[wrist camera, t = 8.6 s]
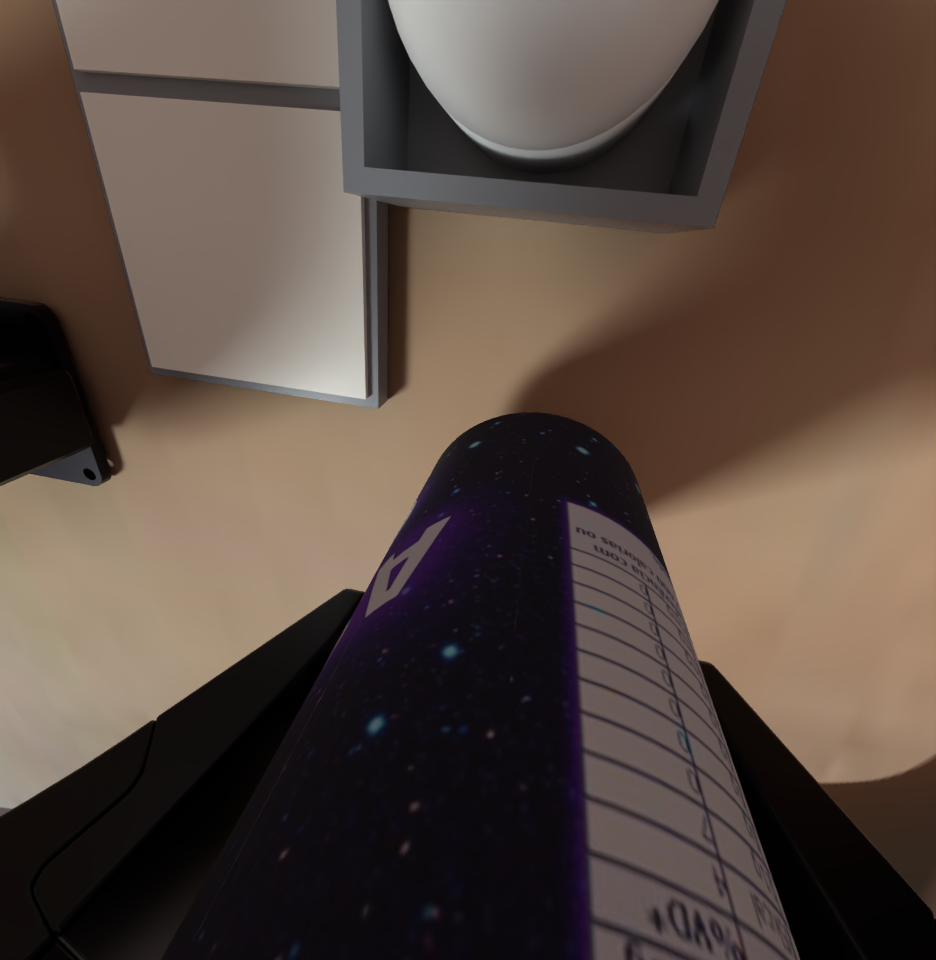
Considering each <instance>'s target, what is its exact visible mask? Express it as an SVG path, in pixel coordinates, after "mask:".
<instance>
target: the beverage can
mask: <svg viewBox="0 0 936 960" xmlns="http://www.w3.org/2000/svg"><path fill="white" fill-rule="evenodd" d="M161 960H800V957H799V954H798V951H797V948H796V946H795V943H794V940H793V937H792V934H791V931H790V928H789V925H788V922H787V919H786V916H785V913H784V910H783V907H782V905H781V902H780V899H779V896H778V893H777V890H776V887H775V884H774V881H773V878H772V875H771V872H770V869H769V866H768V864H767V861H766V858H765V855H764V852H763V849H762V846H761V843H760V840H759V837H758V834H757V831H756V828H755V825H754V823H753V820H752V817H751V814H750V811H749V808H748V805H747V802H746V799H745V796H744V793H743V790H742V787H741V784H740V781H739V779H738V776H737V773H736V770H735V767H734V764H733V761H732V758H731V755H730V752H729V749H728V746H727V743H726V740H725V738H724V735H723V732H722V729H721V726H720V723H719V720H718V717H717V714H716V711H715V708H714V705H713V702H712V699H711V697H710V694H709V691H708V688H707V685H706V682H705V679H704V676H703V673H702V670H701V667H700V664H699V661H698V658H697V656H696V653H695V650H694V647H693V644H692V641H691V638H690V635H689V632H688V629H687V626H686V623H685V620H684V617H683V614H682V612H681V609H680V606H679V603H678V600H677V597H676V594H675V591H674V588H673V585H672V582H671V579H670V576H669V573H668V571H667V568H666V565H665V562H664V559H663V556H662V553H661V550H660V547H659V544H658V541H657V538H656V535H655V532H654V530H653V527H652V524H651V521H650V518H649V515H648V512H647V509H646V506H645V503H644V500H643V497H642V494H641V491H640V489H639V486H638V483H637V480H636V477H635V475H634V473H633V471H632V469H631V467H630V465H629V463H628V462H627V460H626V459H625V457H624V456H623V455H622V454H621V452H620V451H619V450H618V449H617V448H616V447H615V446H614V445H613V444H612V443H611V442H610V441H609V440H607V439H606V438H605V437H604V436H602V435H601V434H599V433H598V432H596V431H595V430H593V429H591V428H590V427H588V426H586V425H584V424H582V423H579V422H577V421H574V420H571V419H569V418H565V417H561V416H558V415H552V414H546V413H530V412H529V413H515V414H508V415H503V416H499V417H496V418H492V419H490V420H487V421H484V422H482V423H480V424H478V425H476V426H474V427H472V428H470V429H469V430H467V431H466V432H464V433H463V434H462V435H460V436H459V437H458V438H457V439H456V440H455V441H453V442H452V443H451V444H450V446H449V447H448V448H447V449H446V450H445V451H444V453H443V454H442V456H441V457H440V459H439V460H438V462H437V464H436V466H435V467H434V469H433V471H432V473H431V475H430V476H429V478H428V480H427V482H426V484H425V485H424V487H423V489H422V491H421V493H420V494H419V496H418V498H417V500H416V502H415V503H414V505H413V507H412V509H411V511H410V512H409V514H408V516H407V518H406V520H405V521H404V523H403V525H402V527H401V529H400V530H399V532H398V534H397V536H396V538H395V539H394V541H393V543H392V545H391V547H390V548H389V550H388V552H387V554H386V556H385V557H384V559H383V561H382V563H381V565H380V566H379V568H378V570H377V572H376V574H375V575H374V577H373V579H372V581H371V583H370V584H369V586H368V588H367V590H366V592H365V593H364V595H363V597H362V599H361V601H360V602H359V604H358V606H357V608H356V610H355V611H354V613H353V615H352V617H351V619H350V620H349V622H348V624H347V626H346V628H345V629H344V631H343V633H342V635H341V636H340V638H339V640H338V642H337V644H336V645H335V647H334V649H333V651H332V653H331V654H330V656H329V658H328V660H327V662H326V663H325V665H324V667H323V669H322V671H321V672H320V674H319V676H318V678H317V680H316V681H315V683H314V685H313V687H312V689H311V690H310V692H309V694H308V696H307V698H306V699H305V701H304V703H303V705H302V707H301V708H300V710H299V712H298V714H297V716H296V717H295V719H294V721H293V723H292V725H291V726H290V728H289V730H288V732H287V734H286V735H285V737H284V739H283V741H282V743H281V744H280V746H279V748H278V750H277V752H276V753H275V755H274V757H273V759H272V761H271V762H270V764H269V766H268V768H267V770H266V771H265V773H264V775H263V777H262V779H261V780H260V782H259V784H258V786H257V788H256V789H255V791H254V793H253V795H252V797H251V798H250V800H249V802H248V804H247V806H246V807H245V809H244V811H243V813H242V815H241V816H240V818H239V820H238V822H237V824H236V825H235V827H234V829H233V831H232V833H231V834H230V836H229V838H228V840H227V842H226V843H225V845H224V847H223V849H222V851H221V852H220V854H219V856H218V858H217V860H216V861H215V863H214V865H213V867H212V869H211V870H210V872H209V874H208V876H207V878H206V879H205V881H204V883H203V885H202V886H201V888H200V890H199V892H198V894H197V895H196V897H195V899H194V901H193V903H192V904H191V906H190V908H189V910H188V912H187V913H186V915H185V917H184V919H183V921H182V922H181V924H180V926H179V928H178V930H177V931H176V933H175V935H174V937H173V939H172V940H171V942H170V944H169V946H168V948H167V949H166V951H165V953H164V955H163V957H162V958H161Z"/></svg>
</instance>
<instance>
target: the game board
mask: <svg viewBox="0 0 936 960" xmlns="http://www.w3.org/2000/svg"><path fill="white" fill-rule="evenodd" d="M52 2H53V6H54V9H55V13H56V17H57V21H58V24H59V28H60V32H61V36H62V40H63V43H64V47H65V51H66V55H67V58H68V62H69V66H70V70H71V74H72V77H73V81H74V85H75V89H76V92H77V96H78V100H79V104H80V108H81V111H82V115H83V119H84V123H85V126H86V130H87V134H88V138H89V142H90V145H91V149H92V153H93V157H94V160H95V164H96V168H97V172H98V175H99V179H100V183H101V187H102V191H103V194H104V198H105V202H106V206H107V209H108V213H109V217H110V221H111V225H112V228H113V232H114V236H115V240H116V243H117V247H118V251H119V255H120V259H121V262H122V266H123V270H124V274H125V277H126V281H127V285H128V289H129V293H130V296H131V300H132V304H133V308H134V311H135V315H136V319H137V323H138V326H139V330H140V334H141V338H142V342H143V345H144V349H145V353H146V357H147V360H148V364H149V368H150V372H151V374H157V375H164V376H170V377H177V378H183V379H190V380H196V381H203V382H209V383H215V384H222V385H228V386H235V387H241V388H248V389H254V390H261V391H267V392H274V393H280V394H287V395H293V396H299V397H306V398H312V399H319V400H325V401H332V402H338V403H345V404H351V405H358V406H364V407H370V408H377V409H379V408H380V407H381V406H382V405H383V404H384V403H385V402H386V401H387V400H388V203H385V202H381V201H377V200H373V199H369V198H365V197H361V196H357V195H353V194H349V193H345V192H344V189H343V164H342V139H341V113H340V88H339V63H338V38H337V12H336V0H52Z"/></svg>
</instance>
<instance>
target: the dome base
mask: <svg viewBox="0 0 936 960" xmlns="http://www.w3.org/2000/svg"><path fill="white" fill-rule="evenodd" d="M785 3H786V0H719V1H718V3H717V5H716V7H715V9H714V10H713V12H712V14H711V16H710V18H709V20H708V22H707V24H706V26H705V28H704V30H703V31H702V33H701V35H700V36H699V38H698V39H697V41H696V42H695V44H694V45H693V47H692V49H691V50H690V52H689V53H688V55H687V56H686V58H685V59H684V61H683V62H682V64H681V65H680V67H679V68H678V70H677V71H676V73H675V74H674V76H673V77H672V79H671V80H670V82H669V83H668V84H667V86H666V87H665V89H664V90H663V92H662V93H661V95H660V96H659V98H658V99H657V101H656V102H655V104H654V105H653V107H652V108H651V109H650V110H649V112H648V113H647V114H646V115H645V117H644V118H643V119H642V120H641V122H640V123H639V124H638V125H637V126H636V127H635V128H634V129H633V130H632V131H631V132H630V133H629V134H628V135H627V136H626V137H625V138H624V139H623V140H622V141H620V142H619V143H618V144H617V145H615V146H614V147H613V148H612V149H610V150H609V151H607V152H606V153H604V154H603V155H601V156H599V157H598V158H596V159H594V160H592V161H590V162H588V163H586V164H583V165H581V166H579V167H575V168H572V169H569V170H566V171H560V172H553V173H532V172H526V171H520V170H517V169H514V168H511V167H508V166H505V165H503V164H501V163H499V162H498V161H496V160H494V159H492V158H491V157H489V156H488V155H487V154H485V153H484V152H483V151H481V150H480V149H479V148H478V147H477V146H476V145H475V144H474V143H473V142H472V141H471V140H470V139H469V138H468V137H467V136H466V135H465V133H464V132H463V131H462V130H461V129H460V127H459V126H458V125H457V124H456V123H455V121H454V120H453V119H452V118H451V117H450V116H449V114H448V113H447V112H446V111H445V110H444V108H443V107H442V106H441V105H440V103H439V102H438V101H437V100H436V98H435V97H434V96H433V94H432V93H431V92H430V90H429V89H428V88H427V87H426V85H425V83H424V81H423V80H422V78H421V76H420V75H419V73H418V71H417V70H416V68H415V66H414V64H413V63H412V61H411V59H410V58H409V55H408V53H407V51H406V49H405V46H404V44H403V42H402V40H401V38H400V35H399V33H398V30H397V27H396V24H395V21H394V18H393V15H392V12H391V9H390V6H389V2H388V0H336V12H337V38H338V63H339V88H340V113H341V139H342V164H343V189H344V192H345V193H349V194H353V195H357V196H361V197H365V198H369V199H373V200H377V201H381V202H385V203H389V204H393V205H397V206H401V207H408V208H418V209H428V210H438V211H448V212H458V213H468V214H478V215H488V216H498V217H508V218H519V219H529V220H539V221H549V222H559V223H569V224H579V225H589V226H599V227H609V228H619V229H630V230H640V231H650V232H660V233H674V232H683V231H692V230H700V229H709V228H714V226H715V223H716V220H717V217H718V214H719V211H720V208H721V204H722V201H723V198H724V195H725V192H726V189H727V186H728V182H729V179H730V176H731V173H732V170H733V167H734V164H735V160H736V157H737V154H738V151H739V148H740V145H741V142H742V138H743V135H744V132H745V129H746V126H747V123H748V119H749V116H750V113H751V110H752V107H753V104H754V101H755V97H756V94H757V91H758V88H759V85H760V82H761V79H762V75H763V72H764V69H765V66H766V63H767V60H768V57H769V53H770V50H771V47H772V44H773V41H774V38H775V35H776V31H777V28H778V25H779V22H780V19H781V16H782V13H783V9H784V6H785Z"/></svg>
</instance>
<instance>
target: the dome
mask: <svg viewBox="0 0 936 960" xmlns="http://www.w3.org/2000/svg"><path fill="white" fill-rule="evenodd" d="M718 1H719V0H388V2H389V6H390V9H391V12H392V15H393V18H394V21H395V24H396V27H397V30H398V33H399V35H400V38H401V40H402V42H403V44H404V46H405V49H406V51H407V53H408V55H409V58H410V59H411V61H412V63H413V64H414V66H415V68H416V70H417V71H418V73H419V75H420V76H421V78H422V80H423V81H424V83H425V85H426V87H427V88H428V89H429V90H430V92H431V93H432V94H433V96H434V97H435V98H436V100H437V101H438V102H439V103H440V105H441V106H442V107H443V108H444V110H445V111H446V112H447V113H448V114H449V116H450V117H451V118H452V119H453V120H454V121H455V123H456V124H457V125H458V126H459V127H460V129H461V130H462V131H463V132H464V133H465V135H466V136H467V137H468V138H469V139H470V140H471V141H472V142H473V143H474V144H475V145H476V146H477V147H478V148H479V149H480V150H481V151H483V152H484V153H485V154H487V155H488V156H489V157H491V158H492V159H494V160H496V161H498V162H499V163H501V164H503V165H505V166H508V167H511V168H514V169H517V170H520V171H526V172H532V173H553V172H560V171H566V170H569V169H572V168H575V167H579V166H581V165H583V164H586V163H588V162H590V161H592V160H594V159H596V158H598V157H599V156H601V155H603V154H604V153H606V152H607V151H609V150H610V149H612V148H613V147H614V146H615V145H617V144H618V143H619V142H620V141H622V140H623V139H624V138H625V137H626V136H627V135H628V134H629V133H630V132H631V131H632V130H633V129H634V128H635V127H636V126H637V125H638V124H639V123H640V122H641V120H642V119H643V118H644V117H645V115H646V114H647V113H648V112H649V110H650V109H651V108H652V107H653V105H654V104H655V102H656V101H657V99H658V98H659V96H660V95H661V93H662V92H663V90H664V89H665V87H666V86H667V84H668V83H669V82H670V80H671V79H672V77H673V76H674V74H675V73H676V71H677V70H678V68H679V67H680V65H681V64H682V62H683V61H684V59H685V58H686V56H687V55H688V53H689V52H690V50H691V49H692V47H693V45H694V44H695V42H696V41H697V39H698V38H699V36H700V35H701V33H702V31H703V30H704V28H705V26H706V24H707V22H708V20H709V18H710V16H711V14H712V12H713V10H714V9H715V7H716V5H717V3H718Z"/></svg>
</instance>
